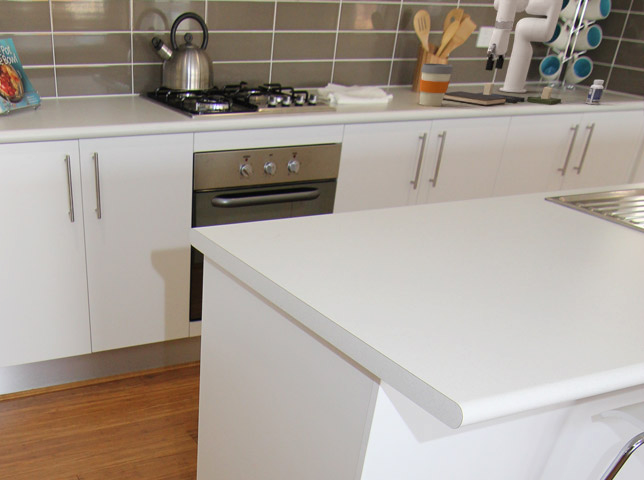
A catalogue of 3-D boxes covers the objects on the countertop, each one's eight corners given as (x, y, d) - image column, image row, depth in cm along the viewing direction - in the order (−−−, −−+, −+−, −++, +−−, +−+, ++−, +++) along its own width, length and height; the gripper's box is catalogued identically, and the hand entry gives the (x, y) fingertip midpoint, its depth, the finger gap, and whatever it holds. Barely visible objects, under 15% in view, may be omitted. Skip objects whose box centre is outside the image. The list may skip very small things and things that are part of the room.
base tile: (503, 98, 335) (503, 95, 334) (524, 101, 329) (525, 97, 328) (491, 100, 327) (492, 96, 326) (512, 103, 321) (513, 99, 321)
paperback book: (485, 105, 310) (487, 99, 309) (440, 98, 324) (441, 93, 323) (505, 103, 319) (506, 97, 317) (460, 96, 333) (461, 91, 332)
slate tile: (482, 95, 340) (485, 81, 337) (507, 99, 333) (511, 84, 330) (470, 97, 333) (473, 83, 330) (496, 101, 326) (499, 86, 323)
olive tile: (533, 99, 337) (537, 84, 333) (560, 102, 329) (564, 88, 326) (522, 101, 329) (526, 86, 326) (550, 104, 322) (554, 89, 319)
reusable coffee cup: (451, 106, 305) (459, 66, 297) (425, 106, 302) (433, 66, 294) (434, 102, 315) (442, 63, 307) (409, 102, 312) (416, 63, 304)
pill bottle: (600, 104, 330) (607, 80, 324) (596, 105, 326) (603, 81, 321) (587, 102, 333) (595, 79, 327) (583, 103, 329) (591, 79, 324)
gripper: (503, 24, 325) (494, 67, 335) (486, 26, 315) (477, 70, 325) (520, 25, 321) (509, 68, 331) (502, 27, 311) (492, 71, 321)
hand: (493, 69), depth 328 cm, fingers open, 9 cm apart
